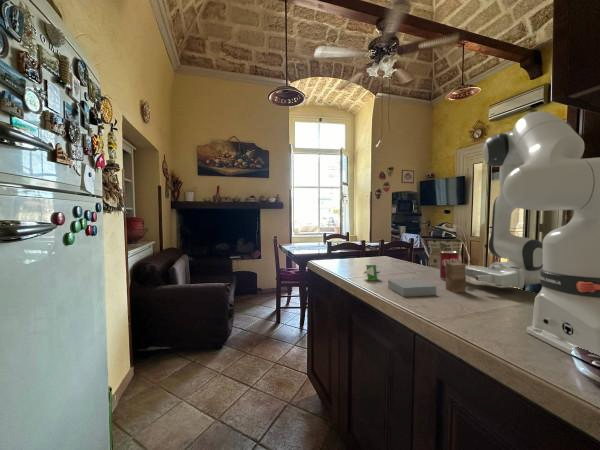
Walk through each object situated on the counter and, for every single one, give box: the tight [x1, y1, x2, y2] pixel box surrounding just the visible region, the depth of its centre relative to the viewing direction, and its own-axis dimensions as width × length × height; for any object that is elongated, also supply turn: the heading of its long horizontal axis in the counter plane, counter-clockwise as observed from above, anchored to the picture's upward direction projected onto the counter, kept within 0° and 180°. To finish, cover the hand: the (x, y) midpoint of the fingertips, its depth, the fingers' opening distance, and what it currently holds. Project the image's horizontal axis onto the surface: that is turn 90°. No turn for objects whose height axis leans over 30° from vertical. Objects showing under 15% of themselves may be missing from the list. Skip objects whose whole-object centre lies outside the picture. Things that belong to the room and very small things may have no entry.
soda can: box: [439, 250, 460, 281], centre depth 111 cm, size 7×7×12 cm
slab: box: [387, 278, 437, 297], centre depth 94 cm, size 12×12×3 cm
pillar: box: [445, 262, 467, 293], centre depth 94 cm, size 4×4×10 cm
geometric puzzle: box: [362, 264, 381, 281], centre depth 114 cm, size 7×7×8 cm
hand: (467, 275), depth 94 cm, fingers open, 8 cm apart
